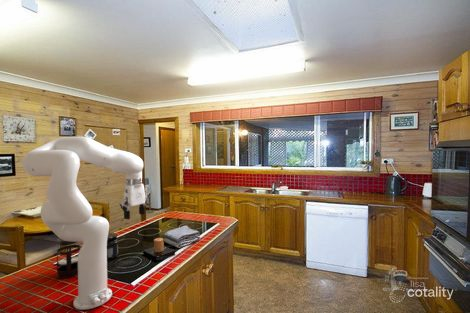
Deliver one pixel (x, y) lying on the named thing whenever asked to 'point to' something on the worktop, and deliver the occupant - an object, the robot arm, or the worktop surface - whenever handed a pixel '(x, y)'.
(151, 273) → the worktop surface
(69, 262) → the french press
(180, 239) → the towel
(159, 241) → the oak knob
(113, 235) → the supplement container
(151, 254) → the panel
